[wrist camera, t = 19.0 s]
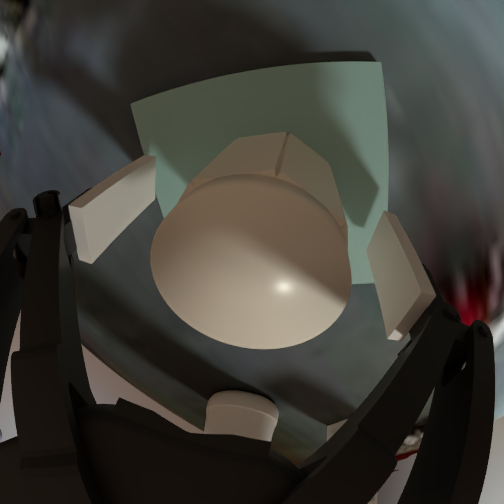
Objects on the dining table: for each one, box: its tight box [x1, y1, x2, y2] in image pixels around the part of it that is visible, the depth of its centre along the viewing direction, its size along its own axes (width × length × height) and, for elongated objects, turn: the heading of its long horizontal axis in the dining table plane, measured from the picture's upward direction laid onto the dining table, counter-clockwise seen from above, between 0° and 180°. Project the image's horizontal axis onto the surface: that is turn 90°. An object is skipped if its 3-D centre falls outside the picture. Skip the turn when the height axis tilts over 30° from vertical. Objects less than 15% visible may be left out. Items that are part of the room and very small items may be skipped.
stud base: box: [131, 62, 389, 284], centre depth 14 cm, size 14×14×6 cm
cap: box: [150, 132, 352, 349], centre depth 12 cm, size 7×7×8 cm
